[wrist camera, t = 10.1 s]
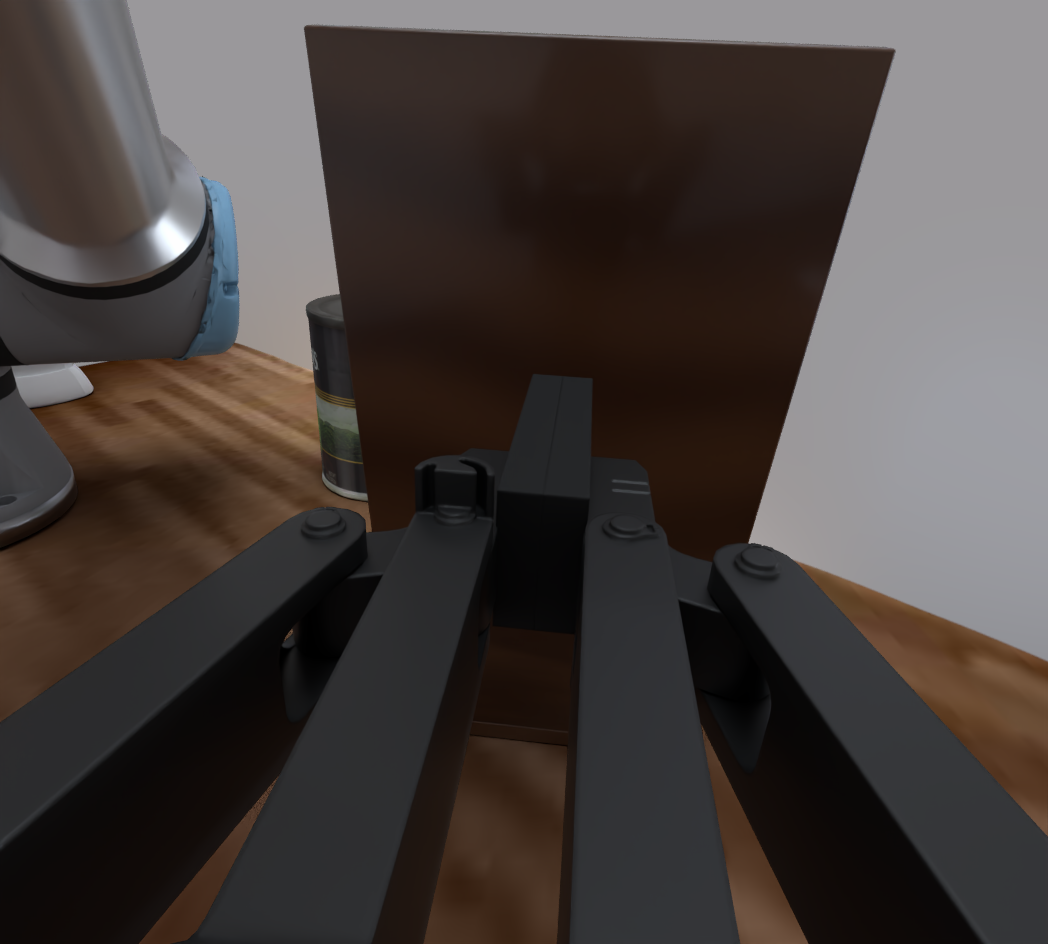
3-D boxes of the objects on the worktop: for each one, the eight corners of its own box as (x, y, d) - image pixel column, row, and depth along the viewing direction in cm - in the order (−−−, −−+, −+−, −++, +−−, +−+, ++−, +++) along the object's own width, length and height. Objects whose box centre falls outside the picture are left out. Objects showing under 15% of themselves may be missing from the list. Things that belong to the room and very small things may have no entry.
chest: (455, 541, 46) (456, 415, 42) (661, 560, 45) (682, 433, 41) (387, 725, 31) (377, 556, 27) (694, 761, 30) (731, 590, 26)
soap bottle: (-38, 429, 59) (-142, 124, 49) (-48, 405, 65) (-144, 124, 54) (122, 401, 68) (62, 135, 57) (102, 382, 73) (44, 134, 62)
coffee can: (303, 498, 51) (283, 314, 45) (343, 446, 60) (332, 288, 54) (435, 507, 50) (433, 323, 44) (455, 453, 60) (456, 296, 54)
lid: (313, 24, 17) (302, 25, 16) (886, 46, 16) (898, 48, 15) (379, 540, 27) (374, 553, 26) (732, 574, 26) (735, 588, 25)
